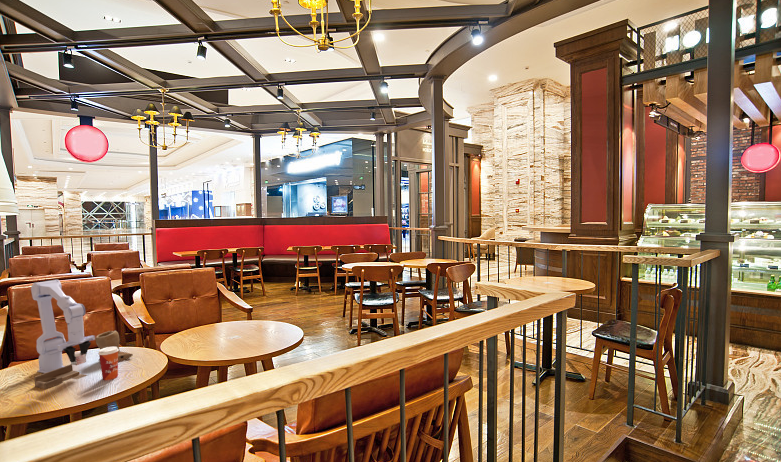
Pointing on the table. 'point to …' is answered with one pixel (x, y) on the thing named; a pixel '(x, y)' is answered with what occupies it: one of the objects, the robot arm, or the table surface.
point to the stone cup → (111, 343)
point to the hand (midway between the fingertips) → (78, 359)
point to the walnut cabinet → (56, 377)
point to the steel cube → (79, 359)
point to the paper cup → (109, 362)
